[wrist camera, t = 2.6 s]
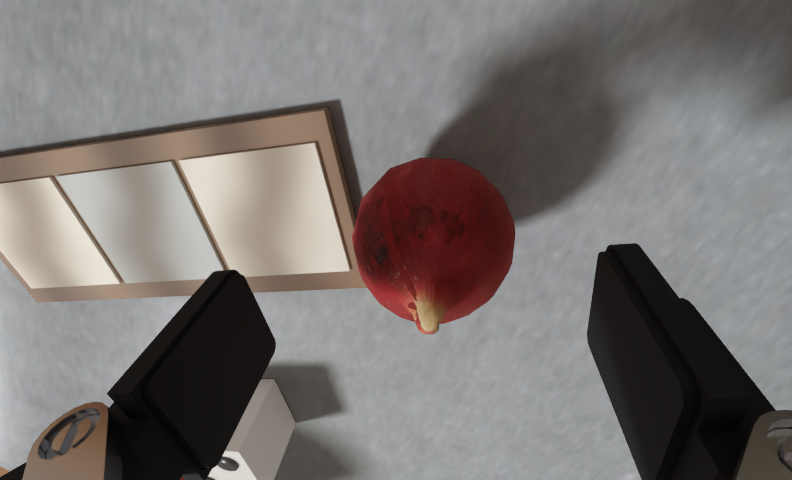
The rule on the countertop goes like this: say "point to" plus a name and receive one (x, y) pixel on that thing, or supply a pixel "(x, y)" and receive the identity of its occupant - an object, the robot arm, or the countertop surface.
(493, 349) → the countertop surface
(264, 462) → the die
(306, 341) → the countertop surface
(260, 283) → the brown flat rectangular frame
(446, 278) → the onion
